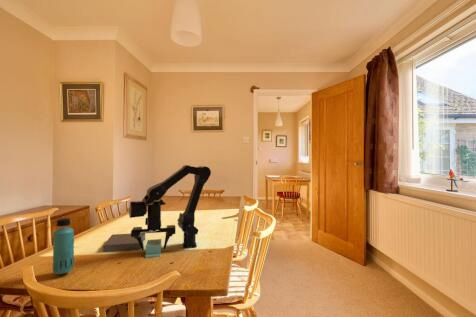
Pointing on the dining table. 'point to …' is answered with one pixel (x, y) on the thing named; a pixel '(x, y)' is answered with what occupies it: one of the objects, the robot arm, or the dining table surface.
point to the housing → (153, 248)
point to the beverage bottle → (63, 247)
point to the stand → (121, 243)
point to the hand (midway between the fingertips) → (153, 249)
